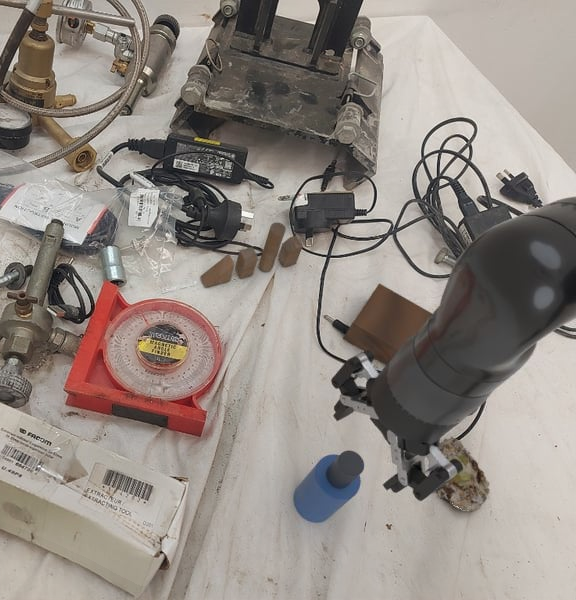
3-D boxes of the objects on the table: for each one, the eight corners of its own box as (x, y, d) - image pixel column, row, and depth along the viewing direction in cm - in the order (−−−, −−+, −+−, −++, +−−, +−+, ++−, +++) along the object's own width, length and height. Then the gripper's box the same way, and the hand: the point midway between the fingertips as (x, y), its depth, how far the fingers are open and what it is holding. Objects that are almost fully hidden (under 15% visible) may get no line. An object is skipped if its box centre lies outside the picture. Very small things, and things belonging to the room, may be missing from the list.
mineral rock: (507, 511, 78) (459, 504, 76) (483, 519, 82) (437, 513, 80) (482, 436, 85) (438, 428, 83) (461, 447, 88) (418, 439, 86)
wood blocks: (289, 254, 104) (304, 215, 96) (295, 265, 103) (311, 226, 95) (159, 287, 98) (163, 249, 90) (164, 299, 97) (168, 261, 88)
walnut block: (422, 331, 97) (435, 315, 93) (398, 372, 92) (411, 357, 88) (368, 300, 100) (379, 283, 96) (342, 338, 95) (352, 322, 91)
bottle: (341, 510, 79) (385, 473, 66) (309, 530, 77) (347, 496, 64) (317, 474, 82) (355, 431, 69) (285, 492, 80) (317, 452, 67)
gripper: (346, 334, 51) (299, 408, 65) (459, 476, 45) (381, 526, 58) (409, 303, 54) (351, 381, 67) (525, 434, 47) (435, 491, 60)
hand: (365, 448), depth 63 cm, fingers open, 8 cm apart
